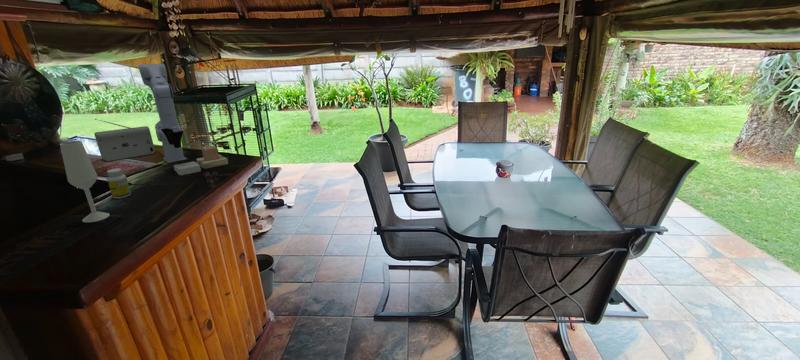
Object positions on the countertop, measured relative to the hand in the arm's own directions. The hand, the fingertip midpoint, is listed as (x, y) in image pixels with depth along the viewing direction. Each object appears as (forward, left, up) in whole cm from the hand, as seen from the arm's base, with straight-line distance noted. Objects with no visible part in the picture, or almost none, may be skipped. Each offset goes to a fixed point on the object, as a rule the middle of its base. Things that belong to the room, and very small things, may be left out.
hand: (175, 146), depth 152 cm
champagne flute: (+35, -33, -10) cm, 49 cm away
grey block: (+7, +1, -10) cm, 12 cm away
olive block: (+4, +12, -10) cm, 17 cm away
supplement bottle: (+20, -24, -10) cm, 33 cm away
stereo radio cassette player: (-36, -12, -10) cm, 39 cm away
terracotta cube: (+4, +12, -8) cm, 15 cm away
